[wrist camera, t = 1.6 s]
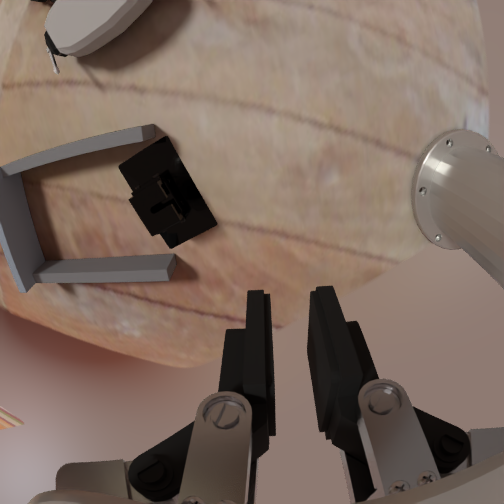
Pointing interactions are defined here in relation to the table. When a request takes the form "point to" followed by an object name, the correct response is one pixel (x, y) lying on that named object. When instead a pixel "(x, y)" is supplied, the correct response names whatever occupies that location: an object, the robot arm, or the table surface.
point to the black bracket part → (166, 194)
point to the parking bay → (25, 238)
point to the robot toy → (87, 24)
